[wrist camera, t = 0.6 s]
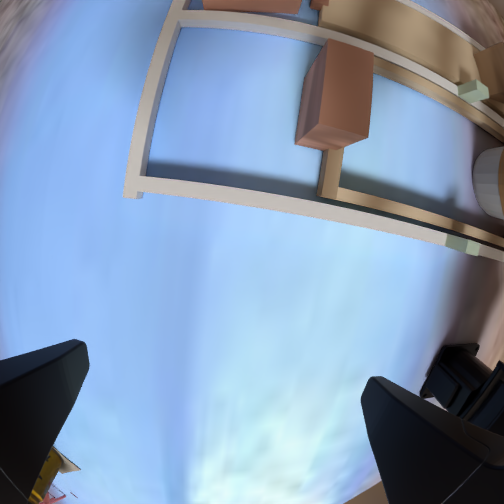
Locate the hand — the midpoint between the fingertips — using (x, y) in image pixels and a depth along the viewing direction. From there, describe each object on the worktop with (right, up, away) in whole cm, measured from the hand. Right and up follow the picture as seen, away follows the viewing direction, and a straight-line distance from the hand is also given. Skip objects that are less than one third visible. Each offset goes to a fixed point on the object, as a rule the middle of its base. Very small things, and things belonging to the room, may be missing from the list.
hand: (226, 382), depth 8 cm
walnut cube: (+24, +20, +7) cm, 32 cm away
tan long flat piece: (+18, +21, +8) cm, 29 cm away
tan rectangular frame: (+16, +11, +10) cm, 22 cm away
